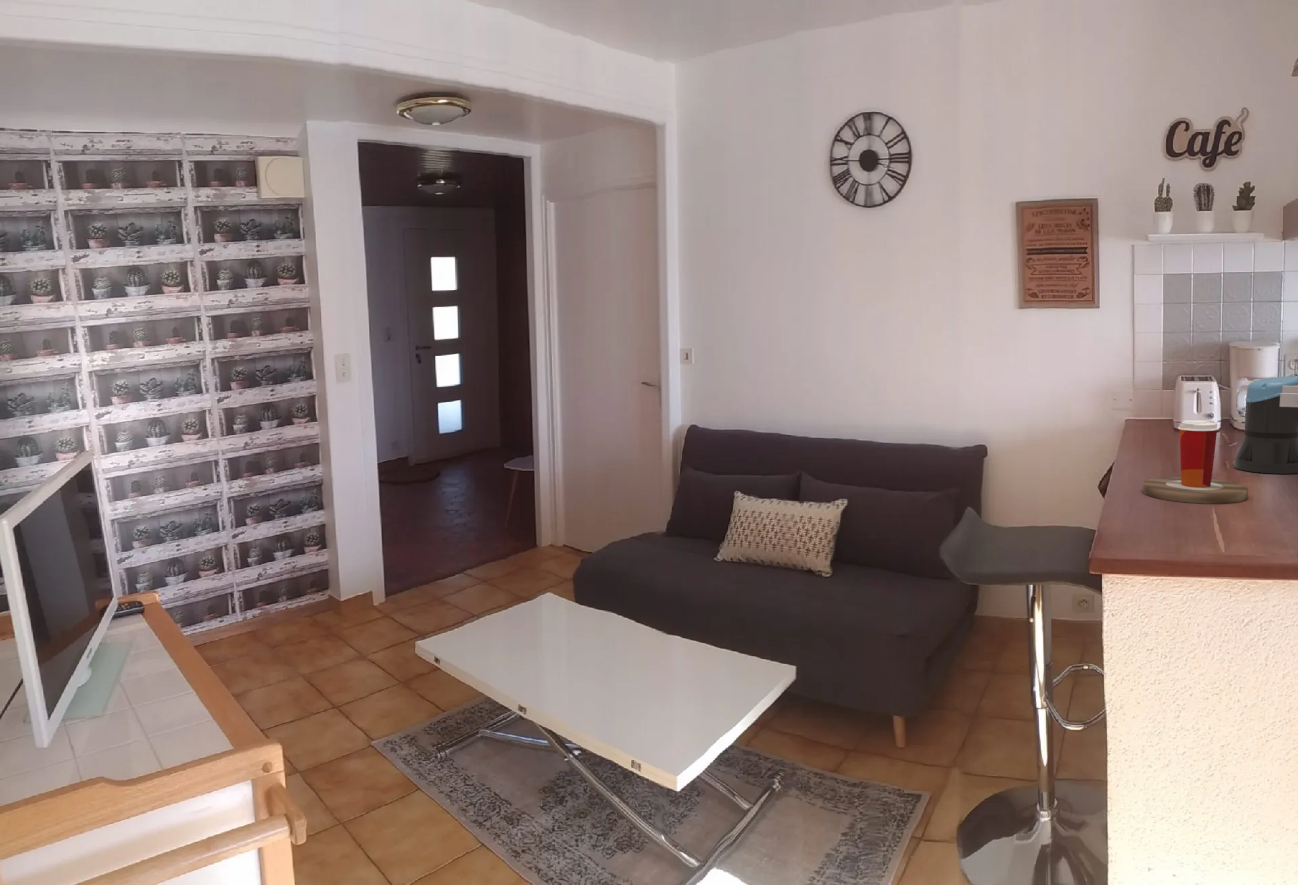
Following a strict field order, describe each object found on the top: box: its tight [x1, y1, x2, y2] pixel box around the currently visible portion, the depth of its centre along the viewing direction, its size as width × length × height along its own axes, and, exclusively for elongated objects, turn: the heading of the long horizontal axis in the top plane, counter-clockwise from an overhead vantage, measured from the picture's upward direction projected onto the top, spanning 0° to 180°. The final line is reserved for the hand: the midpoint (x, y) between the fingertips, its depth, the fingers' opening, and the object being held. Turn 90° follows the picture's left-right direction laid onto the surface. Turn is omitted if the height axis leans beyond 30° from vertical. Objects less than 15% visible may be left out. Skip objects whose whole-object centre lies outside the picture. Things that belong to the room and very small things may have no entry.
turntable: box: [1142, 476, 1249, 505], centre depth 203 cm, size 20×20×2 cm
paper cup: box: [1177, 420, 1220, 488], centre depth 201 cm, size 8×8×14 cm
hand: (1280, 395), depth 192 cm, fingers open, 13 cm apart
